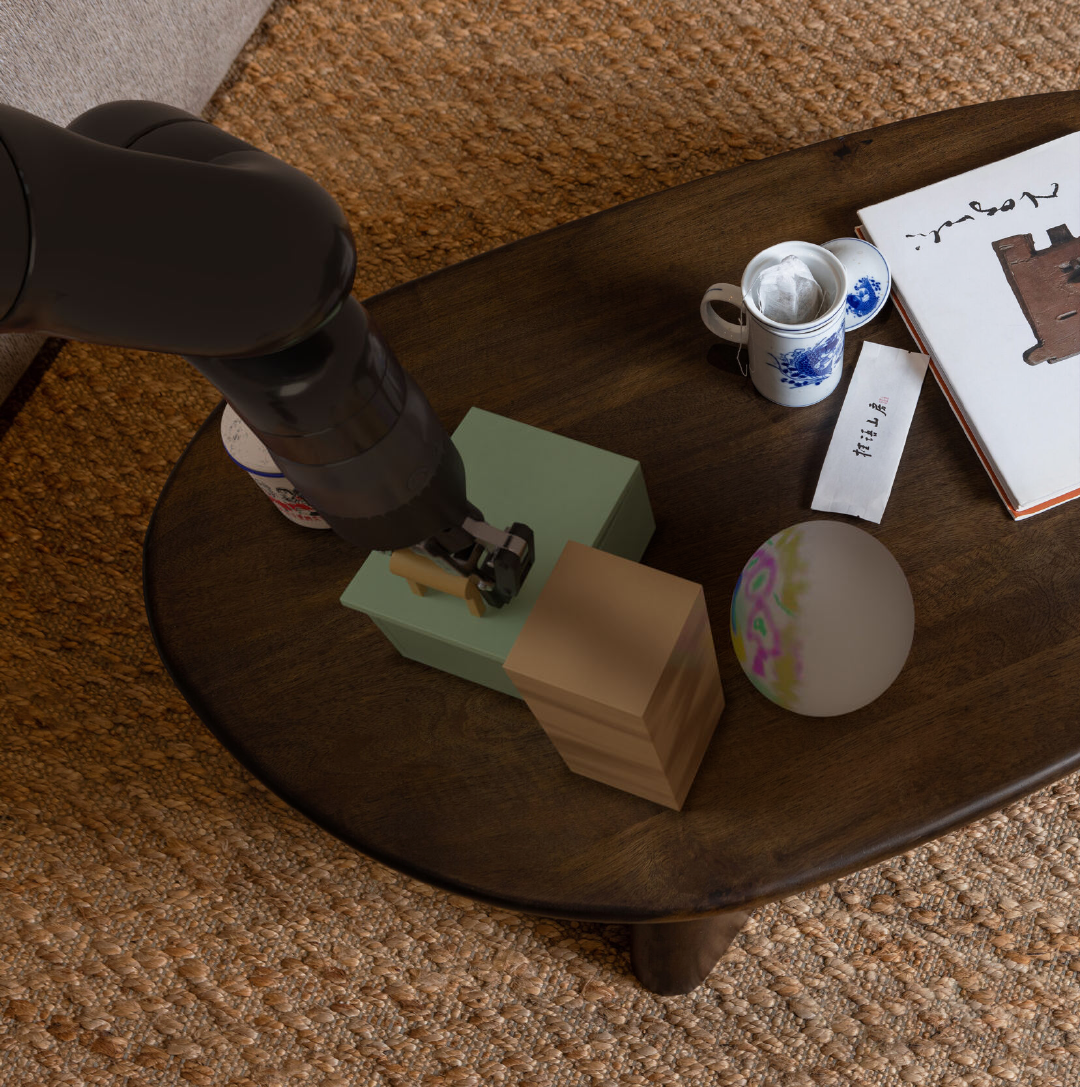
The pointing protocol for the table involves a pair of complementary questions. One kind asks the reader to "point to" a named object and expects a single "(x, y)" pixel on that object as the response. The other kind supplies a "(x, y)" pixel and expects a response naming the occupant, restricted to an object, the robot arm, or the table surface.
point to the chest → (619, 539)
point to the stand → (621, 673)
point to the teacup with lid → (265, 470)
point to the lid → (504, 498)
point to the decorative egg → (822, 618)
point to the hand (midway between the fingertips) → (461, 578)
